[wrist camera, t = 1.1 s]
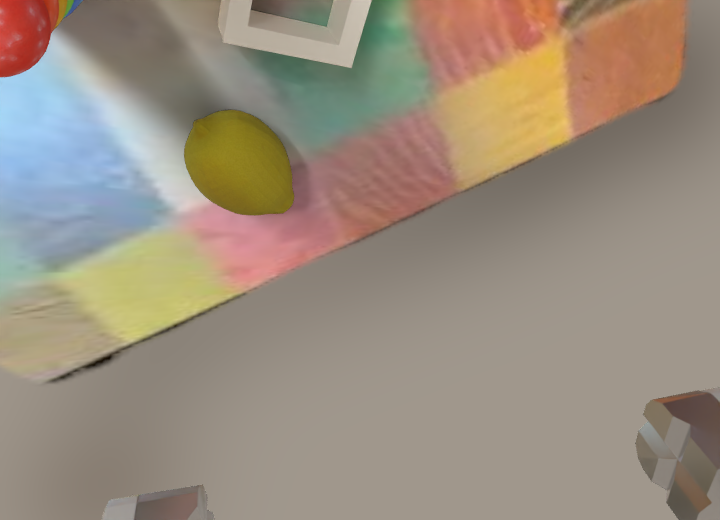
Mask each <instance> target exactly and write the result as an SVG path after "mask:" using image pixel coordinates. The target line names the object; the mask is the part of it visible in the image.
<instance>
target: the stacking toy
mask: <svg viewBox="0 0 720 520" xmlns="http://www.w3.org/2000/svg"><path fill="white" fill-rule="evenodd" d="M82 1H84V0H0V77H10V76H13V75H17V74H20V73H22V72H24V71H26V70H28V69H30V68H31V67H32V66H34V65H35V64H36V63H37V62H38V61H39V60H40V59H41V57H42V56H43V55H44V53H45V52H46V49H47V47H48V44H49V40H50V35H51V33H52V31H53V30H54V29H55V28H56V27H57V26H58V25H59V23H60V22H61V21H62V19H63V18H65V17H67V16H68V15H69V14H71V13H72V12H73V11H74V10H75V9H76V7H77V6H78V5H79V4H80V3H81V2H82Z"/></svg>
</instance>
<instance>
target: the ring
mask: <svg viewBox="0 0 720 520" xmlns="http://www.w3.org/2000/svg"><path fill="white" fill-rule="evenodd" d="M371 1H372V0H334V1H333V4H332V8H331V12H330V16H329V20H328V24H327V27H325V26H321V25H316V24H312V23H307V22H303V21H299V20H294V19H290V18H285V17H281V16H276V15H272V14H267V13H263V12H258V11H254V10H251V5H252V0H221V4H220V11H219V17H218V26H219V30H220V33H221V37H222V40H223V43H227V44H233V45H238V46H243V47H248V48H253V49H258V50H263V51H268V52H273V53H278V54H283V55H288V56H293V57H298V58H303V59H308V60H313V61H319V62H324V63H329V64H334V65H339V66H344V67H349V68H352V64H353V61H354V58H355V54H356V51H357V48H358V44H359V41H360V38H361V34H362V31H363V28H364V24H365V21H366V18H367V14H368V11H369V8H370V4H371Z"/></svg>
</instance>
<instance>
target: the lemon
mask: <svg viewBox="0 0 720 520" xmlns="http://www.w3.org/2000/svg"><path fill="white" fill-rule="evenodd" d="M184 158H185V164H186V168H187V170H188V172H189V175H190V177H191V179H192V181H193V182H194V184H195V186H196V187H197V188H198V189H199V191H200V192H201V193H202V194H203V195H204V196H205V197H206V198H208V199H209V200H210V201H211V202H213V203H215V204H217V205H218V206H220V207H222V208H224V209H227V210H229V211H231V212H234V213H237V214H242V215H264V214H281V213H284V212H286V211H287V210H288V209H289V208H290V207H291V206H292V204H293V201H294V193H293V188H292V172H291V167H290V163H289V159H288V156H287V153H286V150H285V148H284V146H283V144H282V142H281V141H280V139H279V138H278V137H277V136H276V134H275V133H274V132H273V131H272V130H271V129H270V128H269V127H268V126H267V125H266V124H265V123H263V122H262V121H261V120H259V119H258V118H256V117H255V116H253V115H251V114H248V113H245V112H242V111H237V110H224V111H218V112H215V113H213V114H210V115H208V116H206V117H204V118H202V119H197V120H195V121H194V122H193V128H192V130H191V132H190V134H189V136H188V139H187V141H186V144H185V149H184Z"/></svg>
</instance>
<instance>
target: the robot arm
mask: <svg viewBox="0 0 720 520" xmlns="http://www.w3.org/2000/svg"><path fill="white" fill-rule="evenodd" d="M643 415H644V416H645V417H646V419H647V420H648V422H647V423H646V424H645V425H644V426H643V427H642V428H641V429H640V430H639V431H638V435H637V439H636V443H635V444H636V449H637V455H638V459H639V461H640V463H641V465H642V468H643V470H644V471H645V473H646V474H647V475H648V477H649V478H650V480H651V481H652V482H653V483H655V484H657V485H659V486H661V487H662V488H664V489H666V490H667V498H666V500H667V501H666V502H667V504H668V506H669V507H670V508H671V510H672V511H673V513H674V514H675V515H676V517H677V518H678V519H679V520H720V387H718V388H713V389H707V390H702V391H693V392H688V393H683V394H678V395H673V396H668V397H663V398H658V399H653V400H651V401H650V402H649V403H648V404H646V407H645V410H644V413H643ZM102 520H215V518H214V515H213V513H212V512H211V511H209V510H207V494H206V491H205V489H204V486H203V485H197V486H191V487H185V488H179V489H173V490H166V491H160V492H154V493H147V494H142V495H135V496H129V497H124V498H119V499H113V500H109V502H108V504H107V506H106V508H105V510H104V513H103V517H102Z"/></svg>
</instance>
